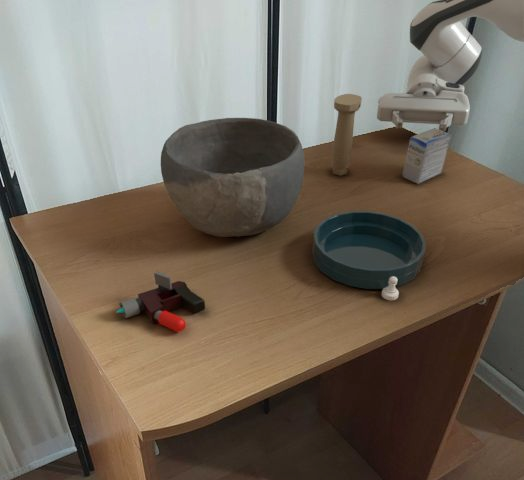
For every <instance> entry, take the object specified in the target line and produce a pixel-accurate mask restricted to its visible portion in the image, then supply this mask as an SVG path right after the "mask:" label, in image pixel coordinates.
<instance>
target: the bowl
mask: <svg viewBox="0 0 524 480" xmlns="http://www.w3.org/2000/svg"><path fill="white" fill-rule="evenodd" d="M160 172H161V177H162V180H163V185H164V188H165V190H166V192H167V195H168V196H169V198H170V201H171V202H172V204H173V205H174V207H175V208H176V209H177V211H178V213H179V214H180V215H181V216H182V217H183V218H184V219H185V220H186V221H188V223H189V224H190V225H191V226H192V227H193V228H195V229H196V230H198V231H200V232H202V233H205V234H208V235H211V236H214V237H221V238H225V237H227V238H229V237H245V236H255V235H258V234H260V233H263V232H266V231H268V230H270V229H272V228H275V226H277V225H278V224H280V223H281V222H283V221H284V219H285V218H286V217H287V216H288V215H289V214H290V213H291V211H292V210H293V208H294V206H295V205H296V202H297V200H298V198H299V196H300V194H301V193H300V192H301V189H302V186H303V183H304V173H305V153H304V149H303V146H302V143H301V140H300V138H299V136H298V134H296V133H295V131H294V130H292V129H291V128H289V127H288V126H286V125H283V124H280V123H277V122H275V121H271V120H267V119H262V118H255V117H253V118H252V117H224V118H215V119H214V118H213V119H207V120H204V121H203V120H202V121H199V122H195V123H189V124H185V125H183V126H181V127H179V128H178V129H177V130H175V131H174V132H173V133H171V134H170V136H169V137H168V138H167V139H166V140H165V142H164V144H163V146H162V150H161V153H160Z"/></svg>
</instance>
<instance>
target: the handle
mask: <svg viewBox="0 0 524 480" xmlns="http://www.w3.org/2000/svg"><path fill="white" fill-rule="evenodd" d="M362 98H363V97H362V96H361V95H358V94H353V93H344V94H340V95H337V96H336V97H335V98H334V99H333V101H334V102H333V108H334V110H335V111H337V119H336V126H335V132H334V137H333V144H332V157H331V162H332V163H331V164H332V166H331V168H332V169H331V170H332V174H333V175H335V176H339V177H341V176H345V175H347V173H348V171H349V168H348V167H349V166H350V162H351V156H352V152H353V151H352V150H353V142H354V141H353V140H354V128H355V127H354V126H355V115H356V112H357V111H359V110H360V108H361V106H362V100H363V99H362Z"/></svg>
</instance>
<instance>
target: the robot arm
mask: <svg viewBox="0 0 524 480" xmlns="http://www.w3.org/2000/svg"><path fill="white" fill-rule="evenodd" d="M470 18H480V19H482V20H485V21H487V22H488V23H490V24H491V25H493V26H494V27H496V28H498V29H499V30H500V31H501V32H502V33H504V34H505V35H507V36H508V37H510V38H511V39H513V40H515V41H518V42H522V43H524V0H435V1H432V2H430V3H428V4H427V5H426V6H424V7H423V8H421V9H420V11H418V13H416V14H415V16H414V17H413V19H412V21H411V22H410V24H409V42H410V44H411V45H412V46H414V48H416V49H417V50H418V51H420V52H421V53H422V54H423V55H421V56H420V57H419V58H418V59H416V61H415V62H414V63H413V65H412V67H411V69H410V71H409V73H408V77H407V82H406V89H405V93H401V92H388V93H384V95H382V96H379V97H378V101H377V103H378V104H377V112H376V119H377V120H378V121H379V122H390V123H392V124H393V125H394V126H395V129H403V123H410V124H427V125H429V124H430V125H439V127H438V129H439V130H442V131H444V132H446V131H447V128H449V127H450V126H465V125H466V124H467V123H468V120H469V116H470V111H471V105H470V100H469V99H470V98H469V97H468V95H467V94H466V93H465V86H464V85H463V84H465V83H467V81H469V79H471V77H473V76H474V74H475V73H476V71H477V70H478V68H479V65H480V63H481V59H482V55H483V47H482V46H481V45H480V43H479V42H478V41H477V40H476V38H475V37H474V36H473V35H472V34H471V32H469V30H468V29H467V28H466V27H465V26H464V25H463V23H462V21H464V20H467V19H470Z"/></svg>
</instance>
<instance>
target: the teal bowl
mask: <svg viewBox="0 0 524 480" xmlns="http://www.w3.org/2000/svg"><path fill="white" fill-rule="evenodd" d="M426 249H427V242H426V240H425V237H424V235H423V234H422V232H421V231H420V230H419V229H418V228H416V226H414V225H413V224H411V223H409V222H408V221H406V220H404V219H402V218H400V217H398V216H394V215H391V214H388V213H384V212H379V211H370V210H351V211H345V212H339V213H336V214H333V215H331V216H328V217H326V218H324V219H323V220H322V221H321V222H320V223H318V224H317V225H316V226H315V230H314V232H313V236H312V245H311V255H312V261H313V263H314V264H315V266H316V267H317V268H318V270H319V271H320V272H321V273H323V274H324V275H325V276H327V277H328V278H330V279H331V280H333V281H336V282H338V283H341V284H343V285H346V286H348V287H349V286H350V287H353V288H354V287H355V288H359V289H360V288H361V289H365V290H383V289H384V288H385V287H388V286H389V283H388V282H389V278H390V277H392V276H394V277H396V278H397V279H398V281H397V284H396V285H395V288H397V287H400V286H403V285H405V284H407V283H409V282H410V281H413V280H414V279H415V278H416V276H417V275H418V274H419V273H420V271H421V270H422V267H423V262H424V258H425V255H426Z"/></svg>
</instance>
